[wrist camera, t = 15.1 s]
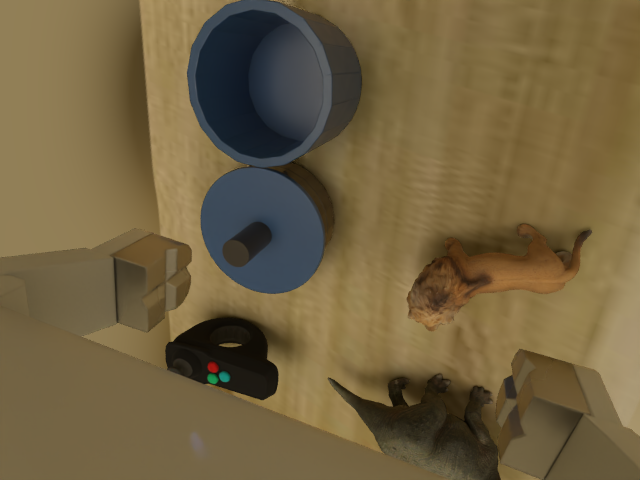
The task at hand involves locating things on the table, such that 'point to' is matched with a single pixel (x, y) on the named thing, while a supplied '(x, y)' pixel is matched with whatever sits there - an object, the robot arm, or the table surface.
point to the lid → (263, 229)
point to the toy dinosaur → (431, 431)
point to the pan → (312, 194)
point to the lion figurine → (488, 276)
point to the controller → (225, 357)
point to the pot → (272, 81)
